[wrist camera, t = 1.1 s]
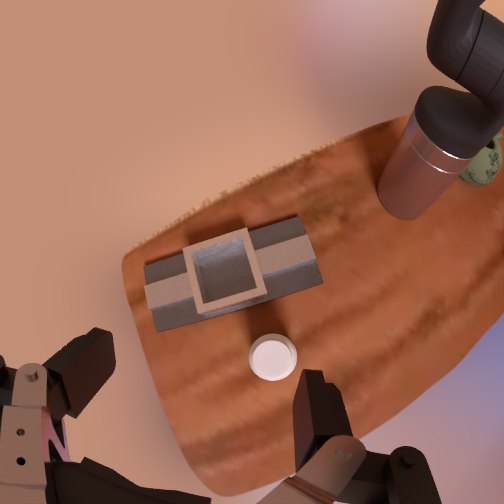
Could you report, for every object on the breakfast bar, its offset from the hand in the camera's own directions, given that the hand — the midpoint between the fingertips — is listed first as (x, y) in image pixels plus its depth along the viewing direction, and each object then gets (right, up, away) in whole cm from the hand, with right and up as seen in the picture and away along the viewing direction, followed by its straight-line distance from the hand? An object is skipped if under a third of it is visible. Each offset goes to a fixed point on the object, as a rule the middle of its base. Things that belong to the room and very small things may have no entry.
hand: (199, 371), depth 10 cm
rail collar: (-1, +1, +29) cm, 29 cm away
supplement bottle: (+5, -9, +25) cm, 27 cm away
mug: (+45, +23, +30) cm, 59 cm away
